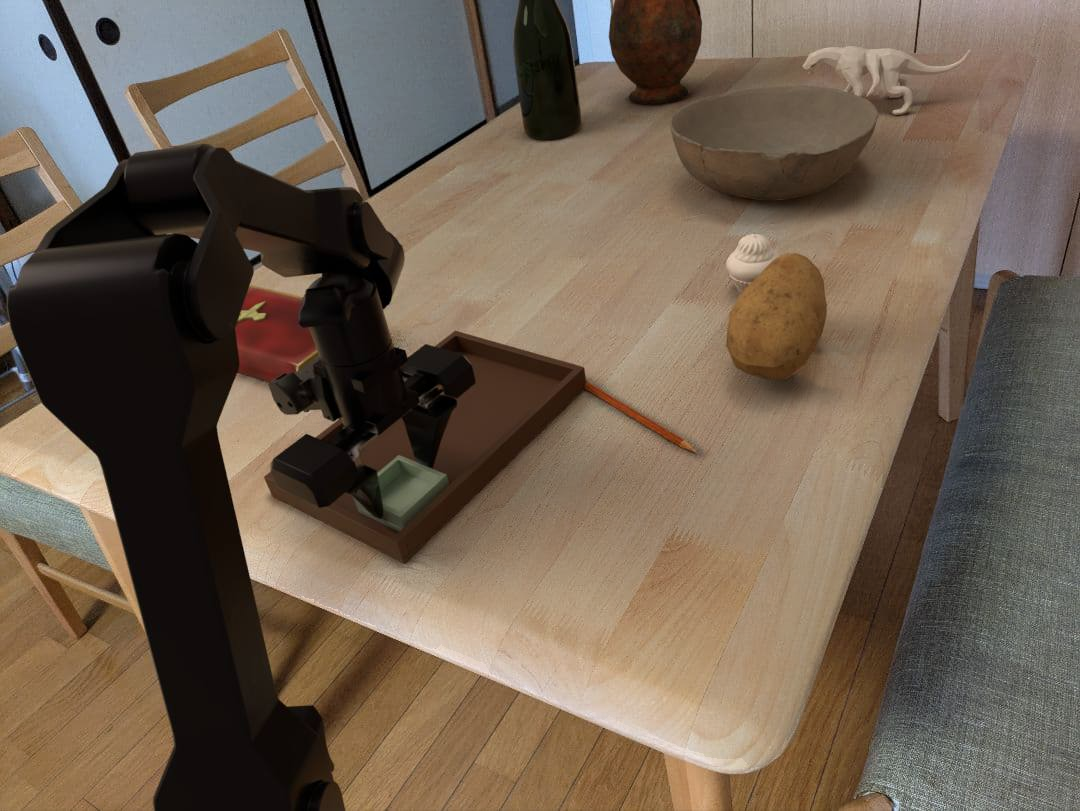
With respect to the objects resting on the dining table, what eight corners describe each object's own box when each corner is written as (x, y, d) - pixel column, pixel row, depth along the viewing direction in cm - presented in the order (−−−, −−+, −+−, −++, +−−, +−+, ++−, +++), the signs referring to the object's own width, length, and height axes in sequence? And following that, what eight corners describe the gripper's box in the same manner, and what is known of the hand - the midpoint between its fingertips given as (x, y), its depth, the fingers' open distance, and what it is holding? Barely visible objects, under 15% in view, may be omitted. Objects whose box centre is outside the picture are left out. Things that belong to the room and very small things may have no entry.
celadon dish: (406, 535, 72) (400, 516, 70) (358, 512, 75) (351, 494, 74) (451, 492, 75) (446, 474, 74) (404, 472, 78) (398, 454, 77)
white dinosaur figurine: (800, 99, 146) (802, 39, 140) (957, 89, 139) (967, 25, 133) (800, 123, 137) (802, 60, 131) (968, 114, 130) (979, 47, 124)
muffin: (719, 283, 99) (718, 229, 95) (768, 273, 100) (770, 218, 95) (737, 308, 94) (737, 252, 90) (789, 297, 95) (792, 240, 90)
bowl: (652, 220, 116) (648, 149, 110) (694, 145, 136) (692, 82, 130) (865, 225, 106) (872, 148, 100) (876, 144, 126) (883, 75, 120)
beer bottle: (565, 143, 145) (538, -73, 126) (514, 140, 150) (480, -68, 131) (592, 121, 152) (570, -86, 133) (542, 119, 157) (514, -81, 138)
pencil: (575, 377, 88) (574, 372, 88) (700, 453, 76) (699, 447, 75) (569, 381, 88) (568, 375, 87) (693, 457, 75) (693, 451, 75)
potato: (706, 394, 82) (703, 312, 77) (760, 315, 92) (761, 238, 87) (793, 413, 78) (797, 328, 73) (840, 328, 88) (847, 248, 83)
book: (307, 397, 92) (295, 365, 90) (188, 359, 103) (174, 330, 100) (378, 341, 100) (369, 310, 97) (261, 311, 110) (250, 283, 108)
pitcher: (624, 85, 167) (611, -87, 149) (733, 79, 160) (732, -101, 143) (603, 113, 155) (586, -70, 137) (720, 109, 148) (718, -85, 130)
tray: (404, 563, 70) (397, 542, 68) (271, 496, 79) (263, 476, 78) (587, 387, 86) (584, 367, 85) (459, 348, 96) (455, 330, 94)
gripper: (368, 274, 75) (409, 412, 84) (196, 384, 64) (264, 529, 73) (461, 298, 69) (494, 443, 78) (289, 424, 58) (350, 576, 67)
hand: (402, 493), depth 74 cm, fingers closed on celadon dish, 6 cm apart
